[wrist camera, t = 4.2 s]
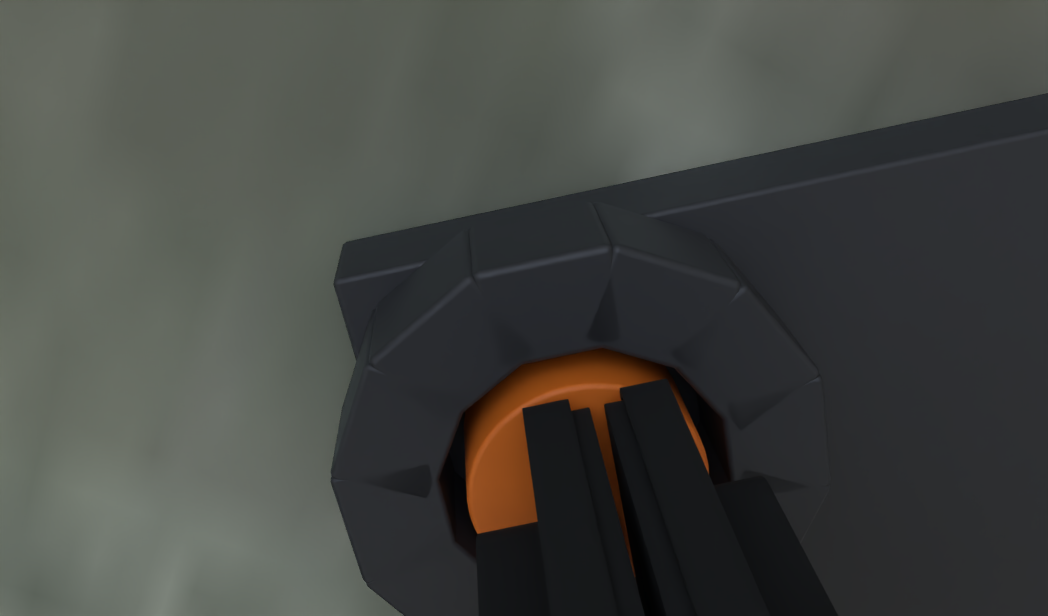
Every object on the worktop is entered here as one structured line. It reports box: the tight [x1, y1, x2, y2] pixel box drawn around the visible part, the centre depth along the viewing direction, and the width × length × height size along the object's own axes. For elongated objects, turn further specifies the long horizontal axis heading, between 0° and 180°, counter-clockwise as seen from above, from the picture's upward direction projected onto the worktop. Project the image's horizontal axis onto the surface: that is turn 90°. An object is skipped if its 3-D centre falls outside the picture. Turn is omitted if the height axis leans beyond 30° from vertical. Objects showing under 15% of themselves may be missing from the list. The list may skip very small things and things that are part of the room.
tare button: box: [464, 348, 709, 577], centre depth 12 cm, size 3×3×2 cm
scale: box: [331, 93, 1048, 616], centre depth 15 cm, size 16×14×3 cm
